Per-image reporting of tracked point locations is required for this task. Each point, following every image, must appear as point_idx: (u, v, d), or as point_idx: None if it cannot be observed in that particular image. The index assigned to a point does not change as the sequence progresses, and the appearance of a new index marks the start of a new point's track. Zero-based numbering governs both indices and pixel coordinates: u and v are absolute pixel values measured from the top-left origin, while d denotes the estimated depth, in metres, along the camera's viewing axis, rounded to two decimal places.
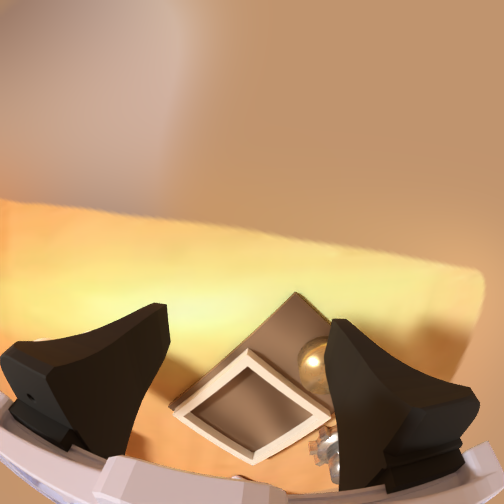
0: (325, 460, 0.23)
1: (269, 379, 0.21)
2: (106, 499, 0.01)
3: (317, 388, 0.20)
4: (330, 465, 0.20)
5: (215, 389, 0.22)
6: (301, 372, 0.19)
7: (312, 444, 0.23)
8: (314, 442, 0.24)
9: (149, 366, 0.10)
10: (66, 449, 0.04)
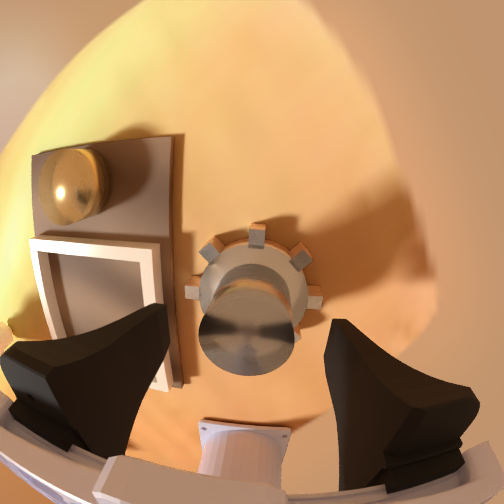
0: None
1: (54, 249, 0.15)
2: (106, 499, 0.01)
3: (68, 213, 0.13)
4: None
5: (44, 298, 0.16)
6: (44, 210, 0.13)
7: None
8: None
9: (149, 366, 0.10)
10: (66, 449, 0.04)
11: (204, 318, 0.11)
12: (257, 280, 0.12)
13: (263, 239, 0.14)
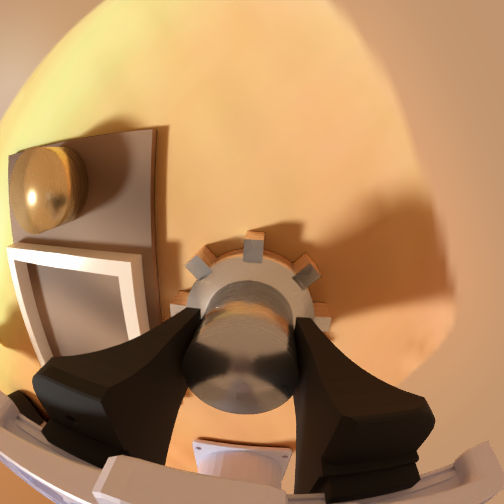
0: None
1: (30, 258, 0.12)
2: (106, 499, 0.01)
3: (38, 221, 0.10)
4: None
5: (24, 311, 0.14)
6: (15, 217, 0.10)
7: None
8: None
9: None
10: None
11: (188, 353, 0.08)
12: (253, 304, 0.10)
13: (261, 251, 0.11)
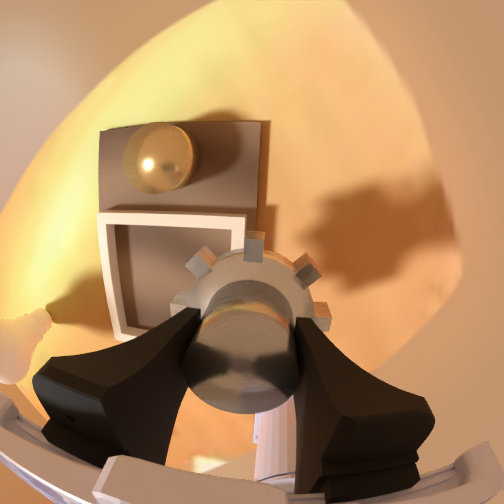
0: None
1: (131, 221, 0.17)
2: (106, 499, 0.01)
3: (162, 182, 0.15)
4: None
5: (108, 274, 0.19)
6: (129, 180, 0.15)
7: None
8: None
9: None
10: None
11: (188, 352, 0.08)
12: (253, 303, 0.10)
13: (261, 251, 0.11)
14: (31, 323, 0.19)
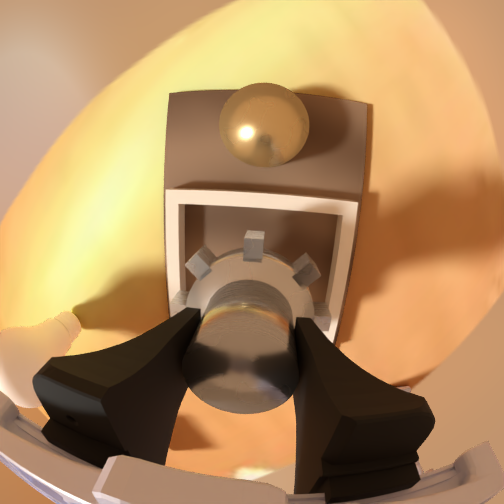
0: None
1: (216, 200, 0.15)
2: (106, 499, 0.01)
3: (273, 153, 0.13)
4: None
5: (176, 267, 0.16)
6: (228, 147, 0.13)
7: None
8: None
9: None
10: None
11: (187, 352, 0.08)
12: (253, 303, 0.10)
13: (261, 251, 0.11)
14: (57, 330, 0.16)
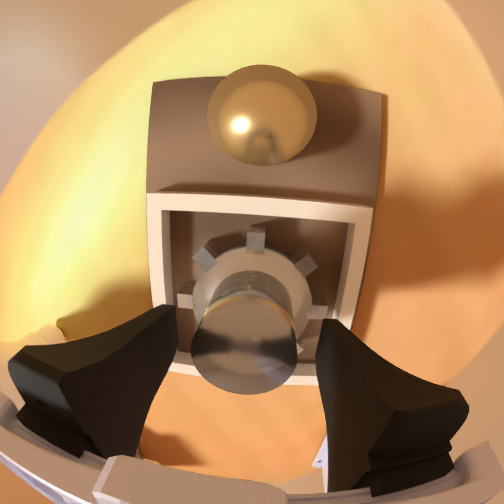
0: None
1: (205, 206, 0.12)
2: (106, 499, 0.01)
3: (273, 149, 0.10)
4: None
5: (160, 283, 0.14)
6: (218, 142, 0.10)
7: None
8: None
9: (159, 368, 0.10)
10: (78, 455, 0.04)
11: (196, 334, 0.09)
12: (255, 290, 0.11)
13: (263, 243, 0.12)
14: None
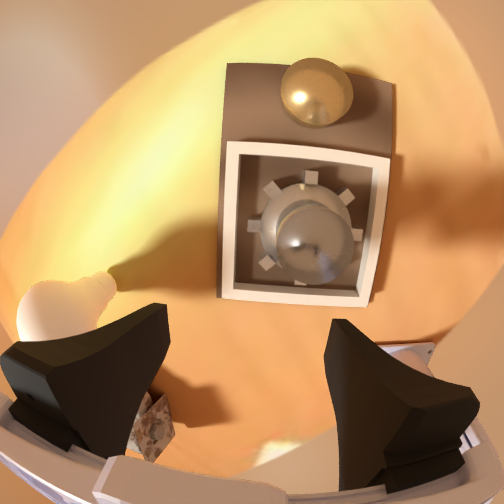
0: None
1: (274, 151, 0.16)
2: (106, 499, 0.01)
3: (326, 112, 0.14)
4: None
5: (233, 213, 0.18)
6: (289, 105, 0.14)
7: (262, 254, 0.19)
8: (265, 251, 0.19)
9: (149, 366, 0.10)
10: (66, 449, 0.04)
11: (283, 227, 0.13)
12: (318, 204, 0.15)
13: (317, 179, 0.16)
14: (95, 287, 0.18)
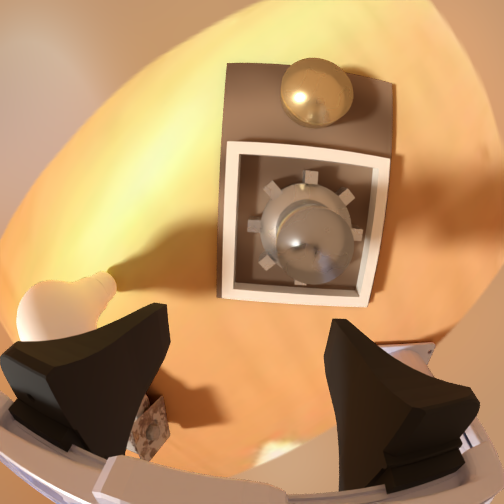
0: None
1: (274, 151, 0.16)
2: (106, 499, 0.01)
3: (326, 112, 0.14)
4: None
5: (233, 213, 0.18)
6: (289, 105, 0.14)
7: (262, 254, 0.19)
8: (265, 251, 0.19)
9: (149, 366, 0.10)
10: (66, 449, 0.04)
11: (283, 227, 0.13)
12: (318, 203, 0.15)
13: (317, 179, 0.16)
14: (95, 287, 0.18)
